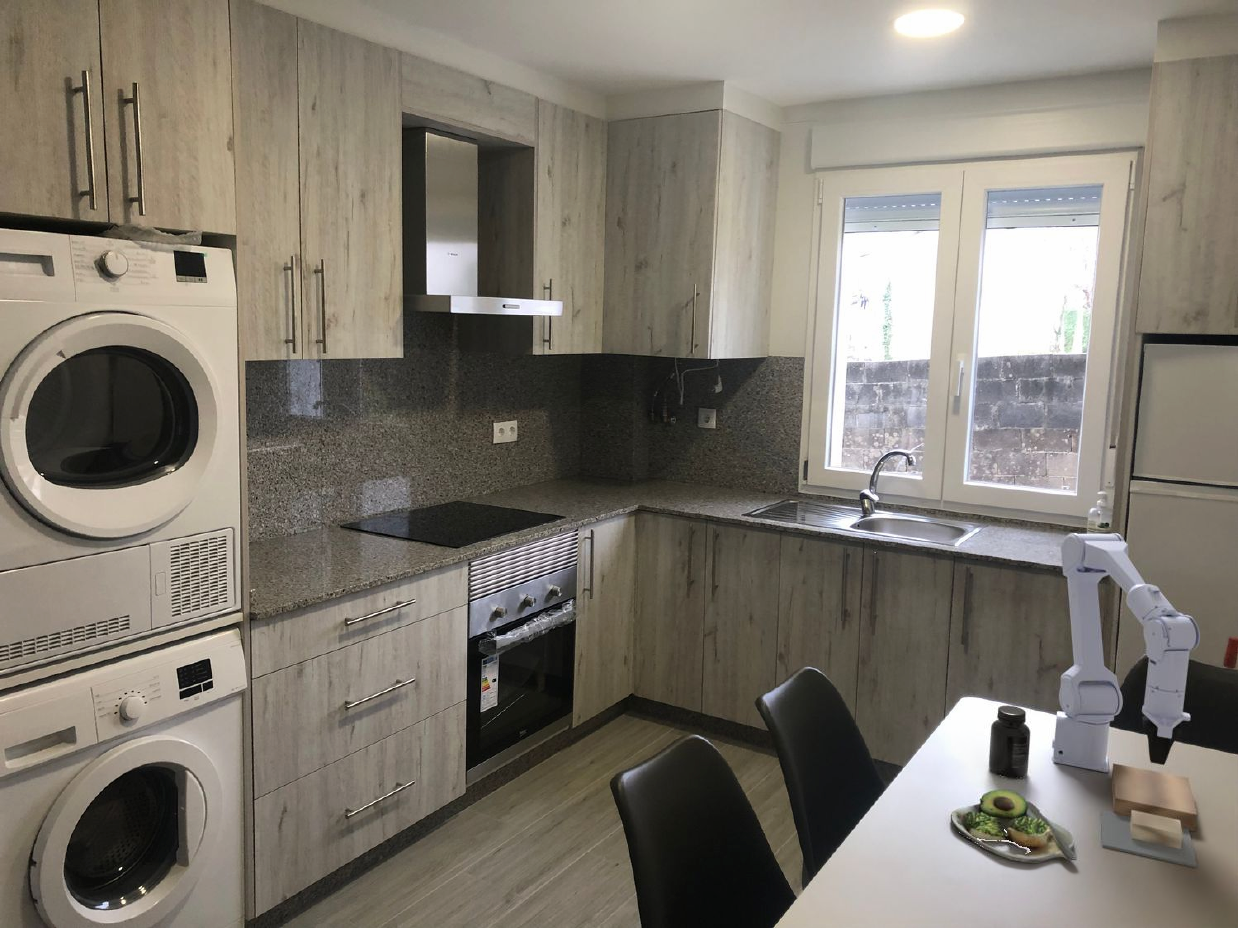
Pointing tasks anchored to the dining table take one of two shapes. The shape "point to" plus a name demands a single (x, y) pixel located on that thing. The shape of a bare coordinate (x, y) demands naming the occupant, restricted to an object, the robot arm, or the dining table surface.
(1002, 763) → the supplement bottle
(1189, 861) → the rubber mat
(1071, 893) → the dining table surface
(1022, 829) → the salad plate
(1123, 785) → the block
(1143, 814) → the ash block
